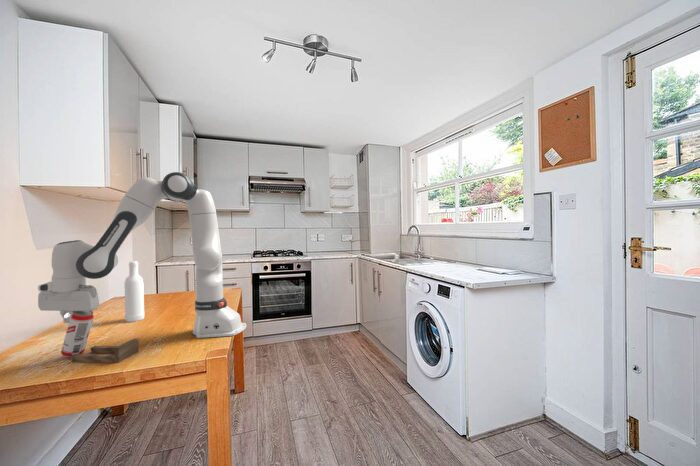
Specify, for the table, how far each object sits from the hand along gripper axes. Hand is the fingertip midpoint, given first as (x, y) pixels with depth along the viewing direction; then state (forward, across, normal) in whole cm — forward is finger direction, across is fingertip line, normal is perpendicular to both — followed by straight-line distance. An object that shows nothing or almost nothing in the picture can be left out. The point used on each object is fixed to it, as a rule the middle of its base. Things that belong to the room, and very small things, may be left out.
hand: (69, 322), depth 103 cm
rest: (+12, -14, 0) cm, 19 cm away
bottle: (+12, +10, -41) cm, 44 cm away
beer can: (+12, -1, 0) cm, 12 cm away
